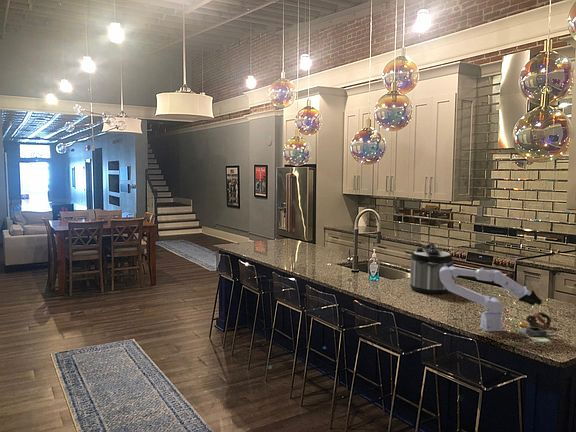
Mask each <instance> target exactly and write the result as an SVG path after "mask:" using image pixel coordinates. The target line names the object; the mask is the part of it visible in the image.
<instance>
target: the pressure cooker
mask: <svg viewBox="0 0 576 432" xmlns="http://www.w3.org/2000/svg"><path fill="white" fill-rule="evenodd" d="M454 265H455V264H454V262H453V257H452V253H451V252H448V251H443V250H440V249H439V250H437V248H436V244H434V243H432V242H431V243H428V244H427V245H426V247H425V249H424V248H423V247H418V248H416V250H413V251H412V252H411V256H410V276H409V277H410V278H409V285H410V288H411V289H412V290H413V291H415V292H419V293H422V294H432V295H433V294H438V295H439V294H440V295H441V294H445V293H448V292H449V291H448V290H447V289H446V287H445V286H444V285H443V283H442V282H441V280H440V276H439V270H440V268H441V267H443V266H447V267H455V266H454ZM452 278H453V280H454V281H455V278H454V277H453V276H452Z"/></svg>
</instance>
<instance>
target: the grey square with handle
mask: <svg viewBox="0 0 576 432" xmlns="http://www.w3.org/2000/svg"><path fill="white" fill-rule="evenodd" d="M527 334H528V335H527ZM548 334H555V329H543V328H541V327H539V326H527V328H526V335H527V336H529V337H530V336H531V337H530V338H532V337H545V338H547V335H548Z"/></svg>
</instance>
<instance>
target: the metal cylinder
mask: <svg viewBox="0 0 576 432" xmlns="http://www.w3.org/2000/svg"><path fill="white" fill-rule="evenodd" d="M527 325H528V323H527V321H526V322H525V321H519V326H518V337H519V336H520V337H519V338H522V337H526V338H527V334H526V328H527V327H528V326H527Z"/></svg>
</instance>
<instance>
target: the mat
mask: <svg viewBox="0 0 576 432" xmlns="http://www.w3.org/2000/svg"><path fill="white" fill-rule="evenodd" d="M528 339H529V340H530V339H531V340H530V341H532V342H534V343H551V342H552V341H551V340H550V339H548V338H547V337H541V338H532V337H528Z"/></svg>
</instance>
